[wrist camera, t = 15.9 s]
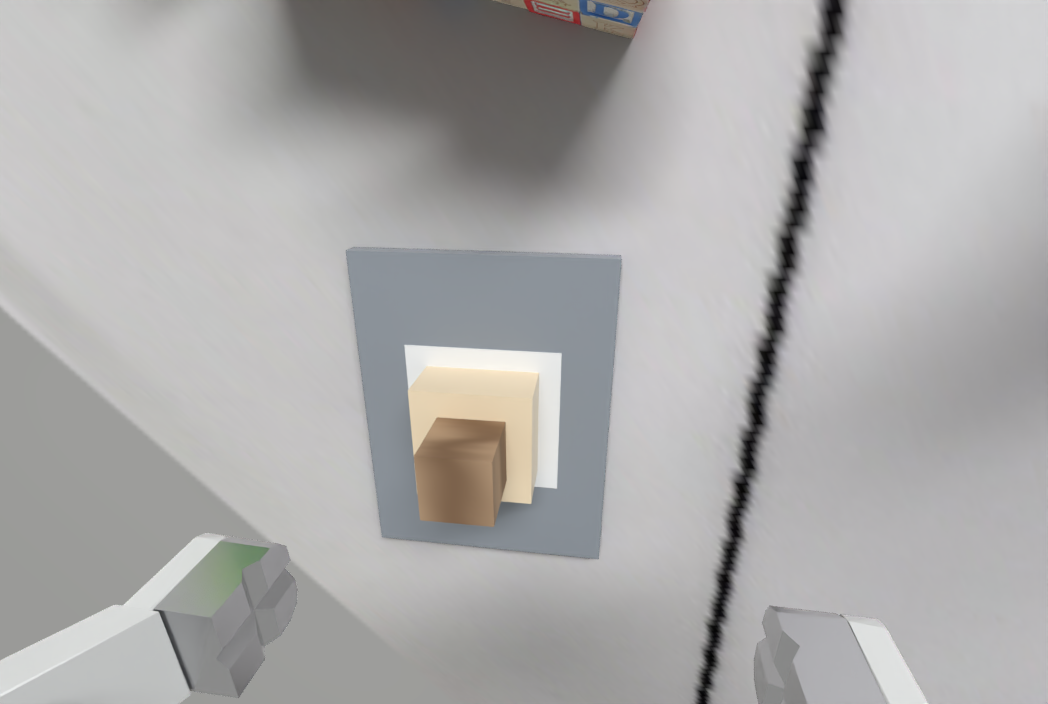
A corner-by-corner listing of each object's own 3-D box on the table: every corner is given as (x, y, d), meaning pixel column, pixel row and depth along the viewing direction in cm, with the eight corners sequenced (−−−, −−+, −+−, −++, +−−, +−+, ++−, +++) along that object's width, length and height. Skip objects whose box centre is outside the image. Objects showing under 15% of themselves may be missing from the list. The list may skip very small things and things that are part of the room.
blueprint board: (620, 255, 33) (624, 274, 28) (598, 548, 42) (598, 600, 37) (353, 247, 35) (315, 263, 30) (387, 527, 44) (361, 573, 39)
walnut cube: (505, 421, 32) (492, 462, 28) (506, 480, 34) (494, 527, 30) (436, 417, 33) (413, 456, 29) (441, 475, 35) (420, 520, 31)
